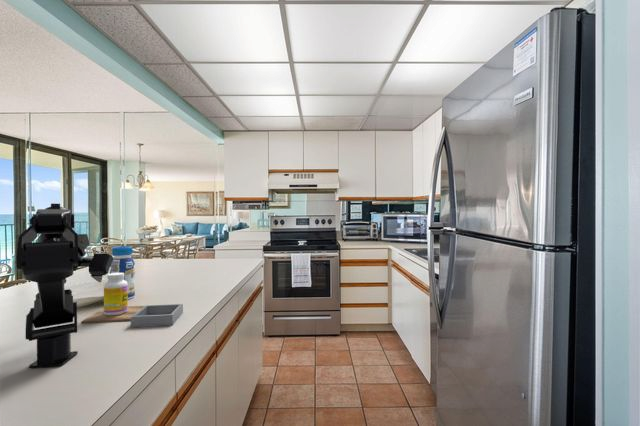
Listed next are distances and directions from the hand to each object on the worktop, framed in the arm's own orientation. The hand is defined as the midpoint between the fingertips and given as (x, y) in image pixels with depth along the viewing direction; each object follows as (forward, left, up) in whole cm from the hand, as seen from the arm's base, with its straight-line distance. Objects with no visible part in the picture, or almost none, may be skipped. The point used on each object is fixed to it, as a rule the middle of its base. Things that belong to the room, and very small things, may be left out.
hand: (83, 281), depth 94 cm
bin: (+5, -19, -14) cm, 24 cm away
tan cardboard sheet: (+12, -4, -14) cm, 18 cm away
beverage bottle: (+33, +3, -14) cm, 35 cm away
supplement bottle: (+11, -4, -13) cm, 18 cm away
